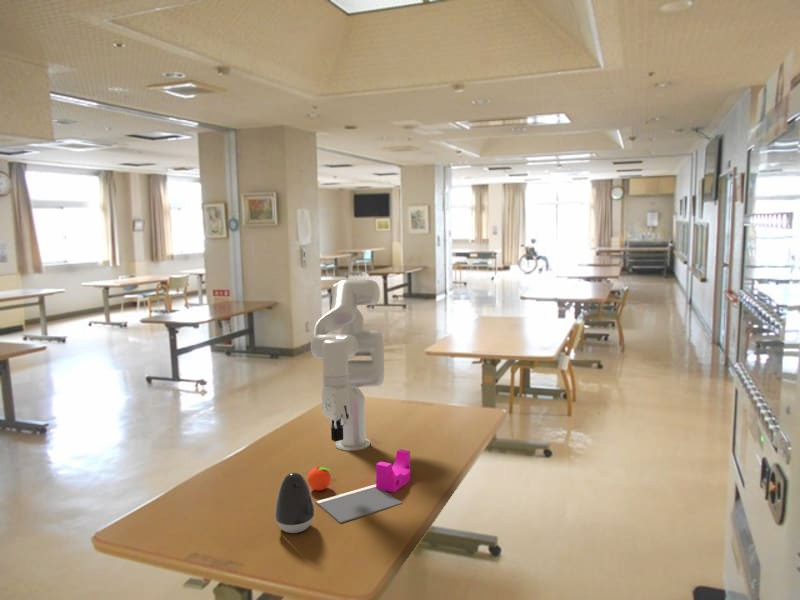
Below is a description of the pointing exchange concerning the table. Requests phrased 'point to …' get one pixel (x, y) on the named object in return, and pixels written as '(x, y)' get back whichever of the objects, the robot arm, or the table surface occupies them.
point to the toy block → (393, 472)
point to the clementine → (319, 478)
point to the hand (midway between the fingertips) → (337, 439)
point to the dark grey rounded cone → (294, 504)
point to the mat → (357, 503)
